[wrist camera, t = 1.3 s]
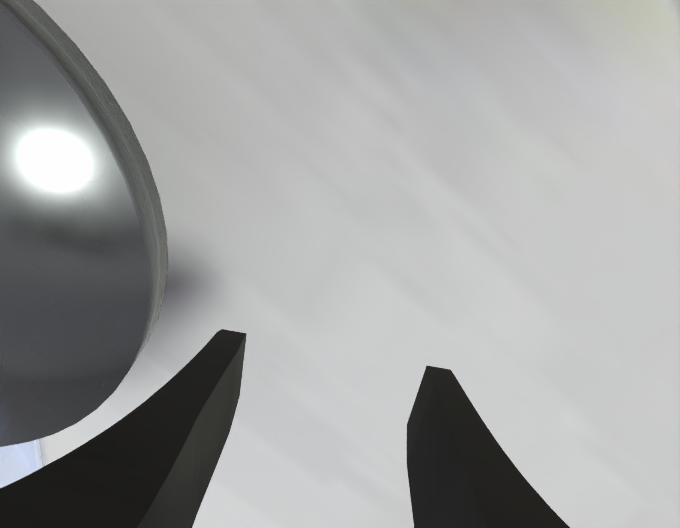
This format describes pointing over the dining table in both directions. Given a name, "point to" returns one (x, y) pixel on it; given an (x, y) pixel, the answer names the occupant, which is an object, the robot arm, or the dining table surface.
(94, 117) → the cooker lid
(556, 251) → the dining table surface
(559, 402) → the dining table surface
